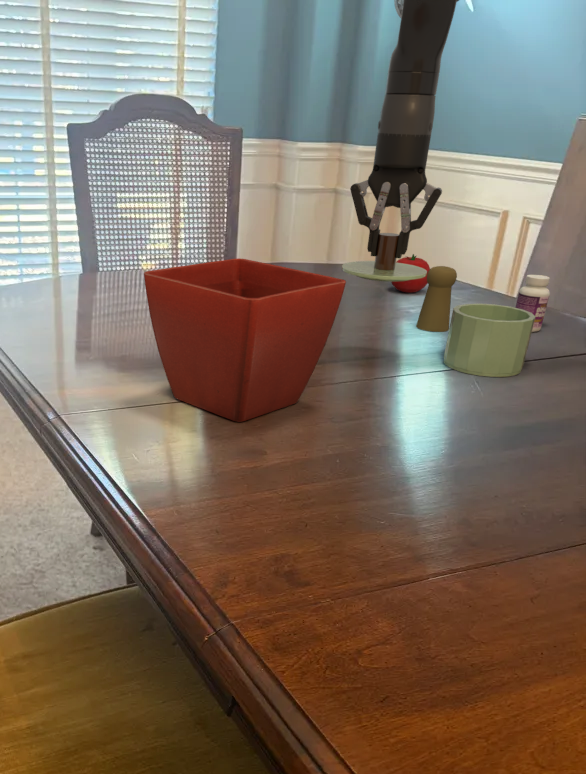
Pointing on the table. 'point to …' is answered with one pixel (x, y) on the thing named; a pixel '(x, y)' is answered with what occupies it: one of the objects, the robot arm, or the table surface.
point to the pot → (488, 339)
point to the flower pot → (240, 332)
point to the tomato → (413, 284)
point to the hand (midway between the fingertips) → (385, 255)
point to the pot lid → (385, 263)
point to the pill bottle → (534, 298)
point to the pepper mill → (437, 300)
